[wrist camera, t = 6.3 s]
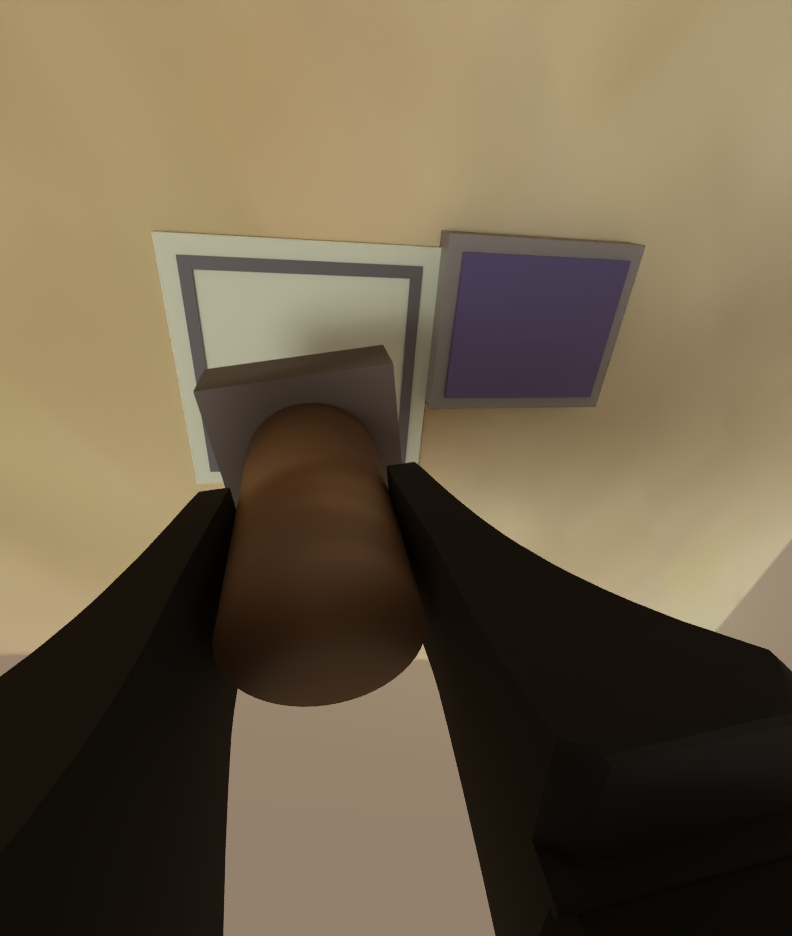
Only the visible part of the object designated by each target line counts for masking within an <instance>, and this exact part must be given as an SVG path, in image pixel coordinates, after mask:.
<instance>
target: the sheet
mask: <svg viewBox="0 0 792 936" xmlns="http://www.w3.org/2000/svg"><path fill="white" fill-rule="evenodd" d="M151 233H152V238H153V244H154V249H155V255H156V260H157V266H158V271H159V277H160V283H161V288H162V294H163V299H164V305H165V310H166V316H167V321H168V327H169V332H170V338H171V344H172V349H173V355H174V360H175V366H176V371H177V377H178V382H179V388H180V393H181V399H182V405H183V410H184V416H185V421H186V427H187V432H188V438H189V443H190V449H191V454H192V460H193V465H194V471H195V477H196V482H197V484H213V483H224V482H223V479H222V476H221V473H220V470H219V467H218V464H217V461H216V458H215V455H214V452H213V449H212V446H211V443H210V441H209V438H208V435H207V432H206V429H205V426H204V423H203V420H202V417H201V414H200V411H199V408H198V405H197V402H196V399H195V396H194V393H193V391H194V389H195V387H196V385H197V383H198V381H199V379H200V377H201V375H202V373H203V371H204V369H210V368H217V367H224V366H232V365H239V364H246V363H253V362H261V361H268V360H275V359H282V358H290V357H297V356H304V355H311V354H319V353H326V352H333V351H340V350H348V349H355V348H362V347H369V346H376V345H383V346H384V347H385V349H386V351H387V353H388V355H389V357H390V358H391V360H392V362H393V367H394V378H395V390H396V401H397V412H398V423H399V434H400V446H401V457H402V463H409V462H416V463H417V464H418V462H419V453H420V443H421V434H422V425H423V415H424V406H425V397H426V387H427V378H428V369H429V359H430V350H431V340H432V331H433V322H434V312H435V303H436V294H437V284H438V275H439V266H440V256H441V247H431V246H413V245H395V244H377V243H359V242H342V241H324V240H306V239H288V238H270V237H253V236H235V235H217V234H199V233H181V232H164V231H151Z"/></svg>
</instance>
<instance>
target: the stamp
mask: <svg viewBox="0 0 792 936" xmlns="http://www.w3.org/2000/svg"><path fill="white" fill-rule="evenodd" d="M193 393H194V396H195V399H196V402H197V405H198V408H199V411H200V414H201V417H202V420H203V423H204V426H205V429H206V432H207V435H208V438H209V441H210V443H211V446H212V449H213V452H214V455H215V458H216V461H217V464H218V467H219V470H220V473H221V476H222V479H223V482H224V485H225V488H230V490H231V493H232V496H233V500H234V503H235V507H236V514H235V520H234V525H233V531H232V536H231V542H230V547H229V552H228V558H227V563H226V569H225V574H224V580H223V585H222V590H221V596H220V601H219V607H218V612H217V618H216V623H215V629H214V634H213V645H212V646H213V654H214V658H215V661H216V663H217V665H218V667H219V669H220V671H221V672H222V674H223V675H224V676H225V677H226V678H227V680H228V681H230V682H231V683H232V684H233V685H234V686H235V687H237V688H238V689H240V690H242V691H243V692H245V693H247V694H249V695H251V696H253V697H255V698H258V699H261V700H263V701H266V702H271V703H275V704H280V705H287V706H300V707H301V706H302V707H306V706H322V705H330V704H336V703H341V702H344V701H348V700H352V699H354V698H358V697H361V696H363V695H366V694H368V693H370V692H372V691H375V690H376V689H378V688H380V687H382V686H384V685H385V684H387V683H388V682H390V681H391V680H393V679H394V678H395V677H397V676H398V675H399V674H400V673H402V672H403V671H404V670H405V669H406V668H407V667H408V666H409V665H410V664H411V662H412V661H413V660H414V658H415V657H416V656H417V654H418V652H419V650H420V649H421V647H422V644H423V641H424V639H425V634H426V624H427V620H426V615H425V610H424V607H423V603H422V600H421V597H420V594H419V590H418V587H417V584H416V580H415V577H414V574H413V570H412V567H411V564H410V561H409V557H408V554H407V551H406V547H405V544H404V541H403V537H402V534H401V531H400V528H399V524H398V521H397V518H396V514H395V511H394V508H393V505H392V501H391V498H390V495H389V491H388V478H387V466H388V465H395V464H402V457H401V446H400V434H399V423H398V412H397V401H396V390H395V378H394V367H393V362H392V360H391V358H390V357H389V355H388V353H387V351H386V349H385V347H384V346H383V345H376V346H369V347H362V348H355V349H348V350H340V351H333V352H326V353H319V354H311V355H304V356H297V357H290V358H282V359H275V360H268V361H261V362H253V363H246V364H239V365H232V366H224V367H217V368H210V369H204V371H203V373H202V375H201V377H200V379H199V381H198V383H197V385H196V387H195V389H194V391H193Z"/></svg>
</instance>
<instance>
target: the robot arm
mask: <svg viewBox="0 0 792 936" xmlns="http://www.w3.org/2000/svg"><path fill="white" fill-rule="evenodd" d="M387 478H388V491H389V495H390V498H391V501H392V505H393V508H394V511H395V514H396V518H397V521H398V524H399V528H400V531H401V534H402V537H403V541H404V544H405V547H406V551H407V554H408V557H409V561H410V564H411V567H412V570H413V574H414V577H415V580H416V584H417V587H418V590H419V594H420V597H421V600H422V603H423V607H424V610H425V615H426V620H427V624H426V634H425V639H424V641H423V645H424V648H425V650H426V653H427V656H428V659H429V662H430V665H431V667H432V670H433V674H434V677H435V680H436V683H437V687H438V690H439V694H440V698H441V702H442V706H443V710H444V714H445V718H446V722H447V725H448V730H449V734H450V738H451V742H452V747H453V750H454V755H455V759H456V763H457V767H458V772H459V776H460V780H461V784H462V788H463V793H464V797H465V801H466V806H467V810H468V814H469V819H470V823H471V827H472V831H473V836H474V840H475V845H476V849H477V854H478V858H479V862H480V867H481V871H482V876H483V880H484V885H485V889H486V894H487V899H488V903H489V908H490V912H491V917H492V921H493V926H494V930H495V935H496V936H792V671H791V670H790V669H789V668H788V667H787V666H786V665H785V664H784V663H783V662H782V661H780V660H779V659H778V658H777V657H776V656H775V655H774V654H773V653H772V652H771V651H770V650H768V649H765V648H761V647H758V646H755V645H752V644H749V643H746V642H743V641H740V640H737V639H734V638H731V637H728V636H725V635H722V634H719V633H716V632H713V631H710V630H707V629H704V628H701V627H698V626H695V625H692V624H689V623H686V622H683V621H681V620H678V619H675V618H672V617H670V616H667V615H665V614H662V613H660V612H657V611H655V610H652V609H650V608H647V607H645V606H642V605H640V604H637V603H634V602H632V601H630V600H627V599H625V598H623V597H620V596H618V595H616V594H614V593H611V592H609V591H607V590H604V589H602V588H600V587H598V586H596V585H594V584H592V583H590V582H588V581H586V580H584V579H581V578H579V577H577V576H575V575H573V574H571V573H569V572H567V571H565V570H563V569H561V568H560V567H558V566H556V565H554V564H552V563H550V562H548V561H547V560H545V559H543V558H541V557H540V556H538V555H536V554H535V553H533V552H531V551H529V550H528V549H526V548H524V547H523V546H521V545H519V544H518V543H516V542H515V541H513V540H511V539H510V538H508V537H507V536H505V535H504V534H502V533H501V532H500V531H498V530H497V529H495V528H494V527H492V526H491V525H490V524H488V523H487V522H485V521H484V520H483V519H481V518H480V517H479V516H477V515H476V514H475V513H474V512H472V511H471V510H470V509H469V508H467V507H466V506H465V505H464V504H462V503H461V502H460V501H459V500H457V499H456V498H455V497H454V496H453V495H452V494H450V493H449V492H448V491H447V490H446V489H445V488H444V487H442V486H441V485H440V484H439V483H438V482H437V481H436V480H435V479H434V478H432V477H431V476H430V475H429V474H428V473H427V472H426V471H425V470H424V469H423V468H422V467H420V466H419V465H418V464H417V463H416V462H409V463H402V464H395V465H388V466H387ZM235 514H236V507H235V503H234V500H233V496H232V493H231V490H230V488H223V489H216V490H209V491H202V492H198V493H197V494H196V495H195V496H194V497H193V499H192V500H191V501H190V502H189V503H188V504H187V505H186V506H185V507H184V508H183V509H182V511H181V512H180V513H179V514H178V515H177V516H176V517H175V518H174V519H173V521H172V522H171V523H170V524H169V525H168V526H167V527H166V528H165V529H164V530H163V532H162V533H161V534H160V535H159V536H158V537H157V538H156V539H155V540H154V541H153V542H152V543H151V544H150V546H149V547H148V548H147V549H146V550H145V551H144V552H143V553H142V554H141V555H140V556H139V557H138V558H137V559H136V560H135V561H134V562H133V563H132V564H131V565H130V566H129V567H128V568H127V569H126V570H125V571H124V572H123V573H122V574H121V575H120V576H119V577H118V578H117V579H116V580H115V581H114V582H113V583H112V584H111V585H110V586H109V587H108V588H107V589H106V590H105V591H103V592H102V593H101V594H100V595H99V596H98V597H97V598H96V599H95V600H94V601H93V602H92V603H91V604H90V605H89V606H87V607H86V608H85V609H84V610H83V611H82V612H81V613H79V614H78V615H77V616H76V617H75V618H74V619H73V620H71V621H70V622H69V623H68V624H67V625H65V626H64V627H63V628H62V629H61V630H59V631H58V632H57V633H56V634H55V635H53V636H52V637H51V638H50V639H49V640H47V641H46V642H45V643H44V644H43V645H41V646H40V647H39V648H38V649H36V650H35V651H34V652H32V653H31V654H30V655H29V656H27V657H26V658H25V659H23V660H22V661H21V662H19V663H18V664H17V665H15V666H14V667H12V668H11V669H10V670H8V671H7V672H6V673H4V674H3V675H2V676H0V936H223V920H224V885H225V883H224V882H225V848H226V824H227V801H228V782H229V765H230V764H229V763H230V748H231V732H232V723H233V715H234V708H235V701H236V695H237V689H238V688H237V687H235V686H234V685H233V684H232V683H231V682H230V681H228V680H227V678H226V677H225V676H224V675H223V674H222V672H221V671H220V669H219V667H218V665H217V663H216V661H215V658H214V654H213V646H212V645H213V634H214V629H215V623H216V618H217V612H218V607H219V601H220V596H221V590H222V585H223V580H224V574H225V569H226V563H227V558H228V552H229V547H230V542H231V536H232V531H233V525H234V520H235Z"/></svg>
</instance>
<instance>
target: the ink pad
mask: <svg viewBox="0 0 792 936" xmlns="http://www.w3.org/2000/svg"><path fill="white" fill-rule="evenodd" d="M440 247H441V256H440V266H439V275H438V284H437V294H436V303H435V312H434V322H433V331H432V340H431V350H430V359H429V369H428V378H427V387H426V397H425V401H426V403H427V405H428V406H429V408H430V409H446V408H531V407H595V406H596V403H597V400H598V396H599V393H600V390H601V387H602V384H603V380H604V377H605V374H606V371H607V367H608V364H609V361H610V358H611V355H612V351H613V348H614V345H615V342H616V339H617V335H618V332H619V329H620V326H621V322H622V319H623V316H624V313H625V310H626V306H627V303H628V300H629V297H630V293H631V290H632V287H633V284H634V281H635V277H636V274H637V271H638V268H639V264H640V261H641V258H642V255H643V252H644V248H645V245H640V244H634V243H629V242H615V241H599V240H584V239H568V238H552V237H536V236H520V235H504V234H489V233H473V232H457V231H442V232H441V241H440Z"/></svg>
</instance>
